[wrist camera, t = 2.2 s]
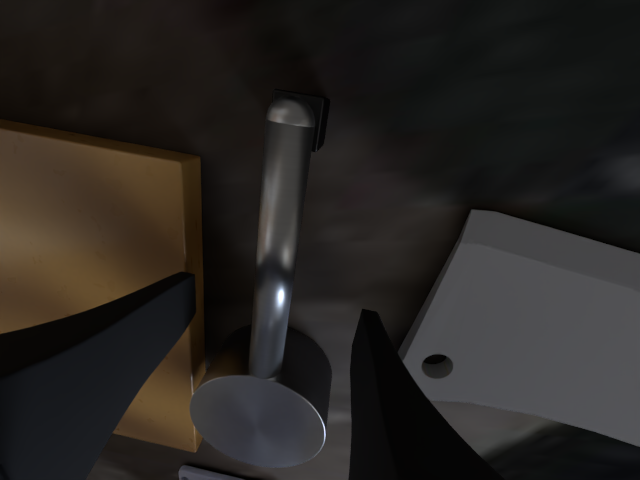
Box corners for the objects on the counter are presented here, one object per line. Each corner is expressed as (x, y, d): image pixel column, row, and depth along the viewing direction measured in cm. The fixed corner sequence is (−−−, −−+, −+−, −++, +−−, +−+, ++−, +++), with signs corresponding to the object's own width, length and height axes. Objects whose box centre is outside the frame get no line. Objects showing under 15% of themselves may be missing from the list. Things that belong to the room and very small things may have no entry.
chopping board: (207, 429, 19) (196, 453, 18) (-67, 365, 20) (-97, 383, 19) (201, 155, 12) (180, 162, 10) (-241, 73, 13) (-313, 69, 11)
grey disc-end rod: (322, 417, 17) (314, 479, 14) (219, 394, 18) (191, 450, 15) (398, 110, 10) (413, 111, 7) (221, 80, 10) (167, 69, 7)
